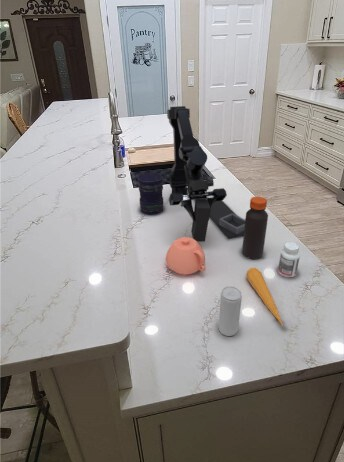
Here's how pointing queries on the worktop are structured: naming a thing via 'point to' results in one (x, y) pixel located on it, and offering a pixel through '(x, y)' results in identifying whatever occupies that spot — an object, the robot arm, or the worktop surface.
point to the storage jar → (151, 193)
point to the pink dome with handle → (185, 256)
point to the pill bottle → (289, 260)
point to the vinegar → (255, 228)
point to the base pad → (220, 213)
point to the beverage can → (229, 310)
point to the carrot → (262, 290)
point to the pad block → (200, 220)
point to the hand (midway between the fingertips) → (201, 221)
